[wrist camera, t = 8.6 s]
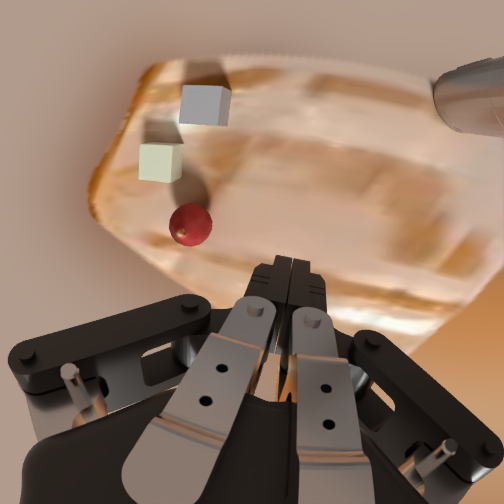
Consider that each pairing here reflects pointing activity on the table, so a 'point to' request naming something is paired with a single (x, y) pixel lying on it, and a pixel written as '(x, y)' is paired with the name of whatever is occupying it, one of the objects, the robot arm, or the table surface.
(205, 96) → the slate block
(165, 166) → the sage block
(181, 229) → the onion
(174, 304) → the robot arm
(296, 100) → the table surface
